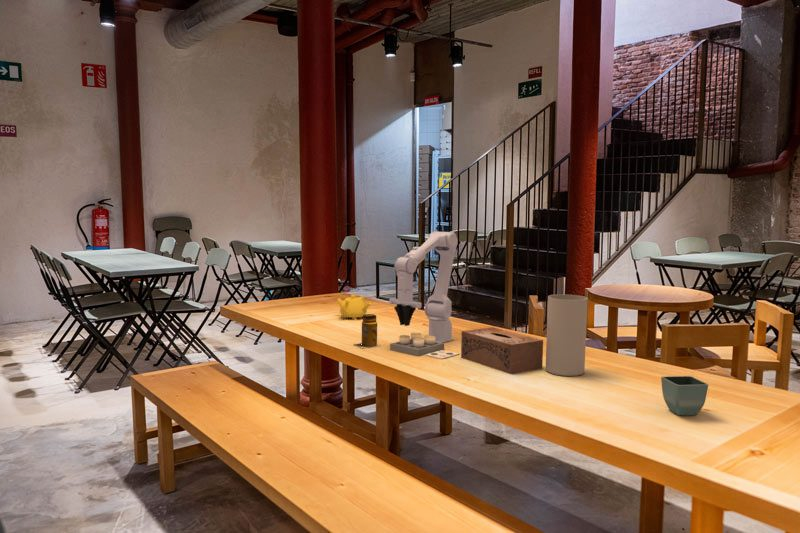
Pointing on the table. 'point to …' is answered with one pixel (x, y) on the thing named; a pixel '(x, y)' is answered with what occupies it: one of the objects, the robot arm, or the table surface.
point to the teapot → (353, 307)
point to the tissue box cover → (502, 350)
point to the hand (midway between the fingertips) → (404, 325)
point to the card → (442, 354)
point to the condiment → (369, 331)
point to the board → (416, 351)
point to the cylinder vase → (566, 335)
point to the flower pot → (684, 394)
